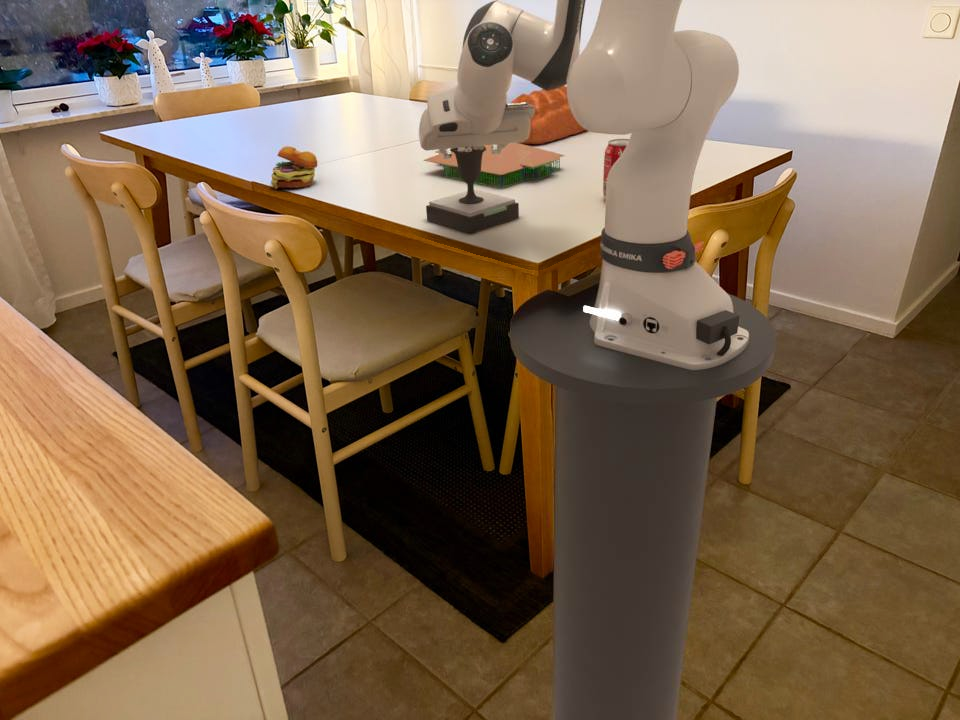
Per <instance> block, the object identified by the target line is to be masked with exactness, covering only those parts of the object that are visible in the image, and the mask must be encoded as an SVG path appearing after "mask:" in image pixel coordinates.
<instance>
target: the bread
mask: <svg viewBox="0 0 960 720" xmlns="http://www.w3.org/2000/svg"><path fill="white" fill-rule="evenodd" d="M523 102H527V103H528V104H530V105H533V106H534V107H535V113H534V116H533V118H532V119H530V134H529V138H528V139H527V140H526V141H524V142H518V143H519V144H523V145H542V144H546V143H548V142H553V141H557V140H561V139H564V138H567V137H569V136H572V135H577V134H578V133H582V132H585V131H587V130H586V129H584V128H583V127H582V126H581V125H580V124H579V123H578V122H577V121H576V119H575V118H574V116H573V114H572V112H571V110H570V107H569V104H568V99H567V85H564V86H562V87H560V88H557V89H554V90H550V91H546V90H544V89H542V88H541V89H540V90H533V91H531V92H529V94H526V93H521V94H520V95H519V96H516V98H514V99H513V100H512V101H511V102H510V103H523Z"/></svg>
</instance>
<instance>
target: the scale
mask: <svg viewBox="0 0 960 720" xmlns="http://www.w3.org/2000/svg"><path fill="white" fill-rule="evenodd" d="M474 193H475V195H476V196H478V197H482V198H483V199H484V200H483V201H482V202H480V203H476V204H463V203H460V202H459V199H460V198H463V197H465V196H466V195H467V190H466V191H462V192H459V193H456V194H452V195H449V196H444V197H441V198H437V199H434V200H431V201H429V202H428V205H426V206H425V211H426V221H427V222H432V223H433V224H436V225H437V224H438V225H441V226H444V227H447V228H451V229H453V230H457V231H459V232H460V231H461V232H463V233H467V234H474V233H477V232H480V231H483V230H486V229H489V228H493V227H495V226H498V225H501V224H505V223H507V222H511V221H513V220H516V219H517V220H518V219H519V218H520V210H519V209H520V208H519V202H516V199H515V198H512V197H508V196H503V195H500V194H496V193H490V192H487V191H482V190H478V189H475V188H474Z"/></svg>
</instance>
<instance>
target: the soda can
mask: <svg viewBox="0 0 960 720" xmlns="http://www.w3.org/2000/svg"><path fill="white" fill-rule="evenodd" d="M629 139H630V138H614V139H610V140H608V141H607V143H608V144H607V146H606V147H605V150H604V157H603V179H602V180H603V181H602V192H603V198H604V199H605V200H606V183H607V177H608V173H609V171H610V169H611V168H612V166H613V165H614V163H615V162H616V161H617V160H618V159H619V157H620V156H621V155H622V153H623V152H624V150H625V148H626V146H627V144H628V142H629Z"/></svg>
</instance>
